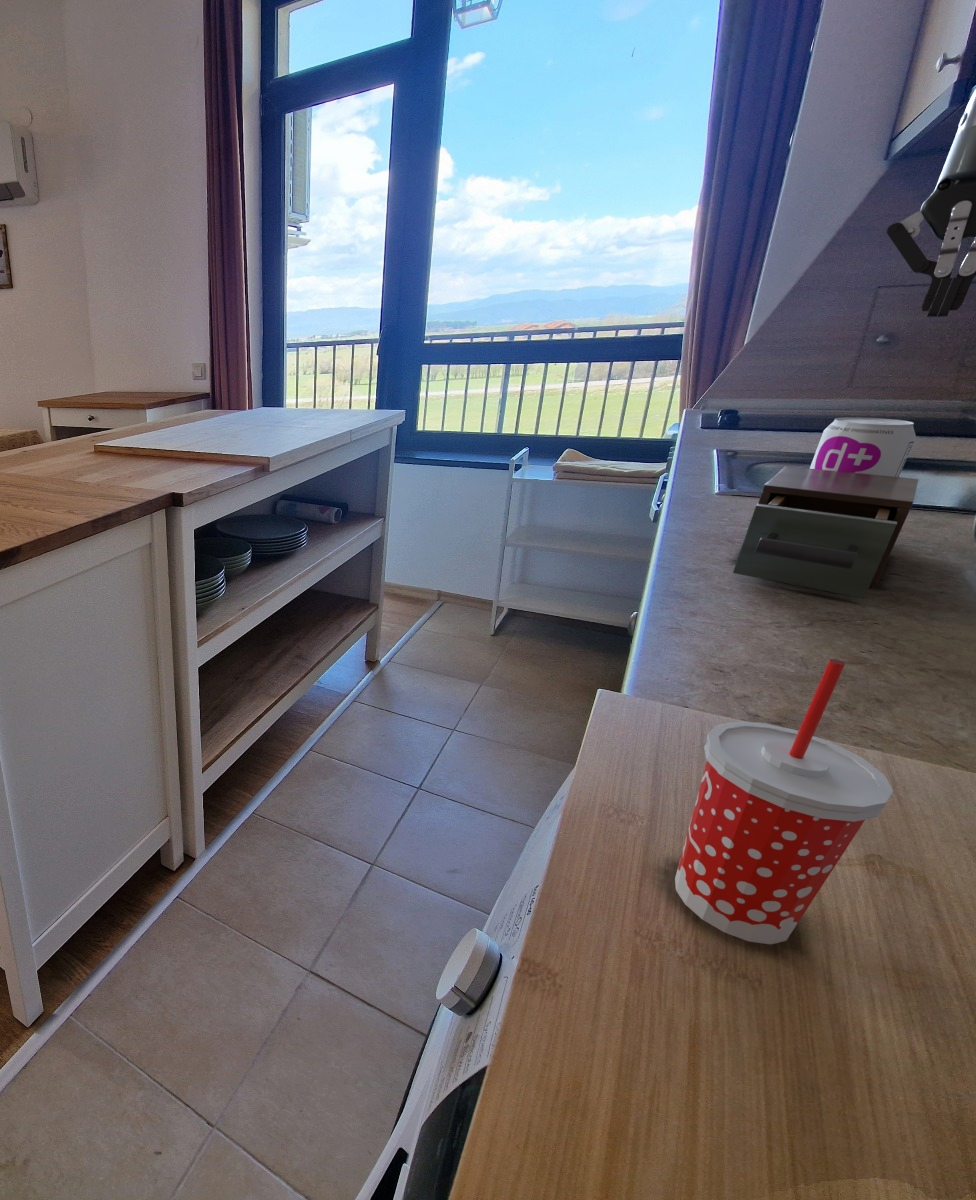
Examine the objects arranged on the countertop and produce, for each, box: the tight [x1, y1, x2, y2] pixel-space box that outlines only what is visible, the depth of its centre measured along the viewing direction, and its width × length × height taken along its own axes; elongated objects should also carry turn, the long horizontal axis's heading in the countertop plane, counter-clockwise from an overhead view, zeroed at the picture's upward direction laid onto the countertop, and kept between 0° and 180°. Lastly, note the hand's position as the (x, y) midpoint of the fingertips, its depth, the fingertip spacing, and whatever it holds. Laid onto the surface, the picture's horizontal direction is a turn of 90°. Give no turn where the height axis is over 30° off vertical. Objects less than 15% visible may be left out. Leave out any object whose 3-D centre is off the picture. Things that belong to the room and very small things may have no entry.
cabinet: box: [757, 465, 919, 589], centre depth 74 cm, size 15×12×10 cm
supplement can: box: [809, 417, 917, 477], centre depth 82 cm, size 8×8×15 cm
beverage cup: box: [674, 658, 894, 945], centre depth 29 cm, size 6×6×14 cm
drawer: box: [732, 494, 897, 599], centre depth 68 cm, size 19×10×8 cm, turn 131°
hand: (936, 316), depth 67 cm, fingers closed
